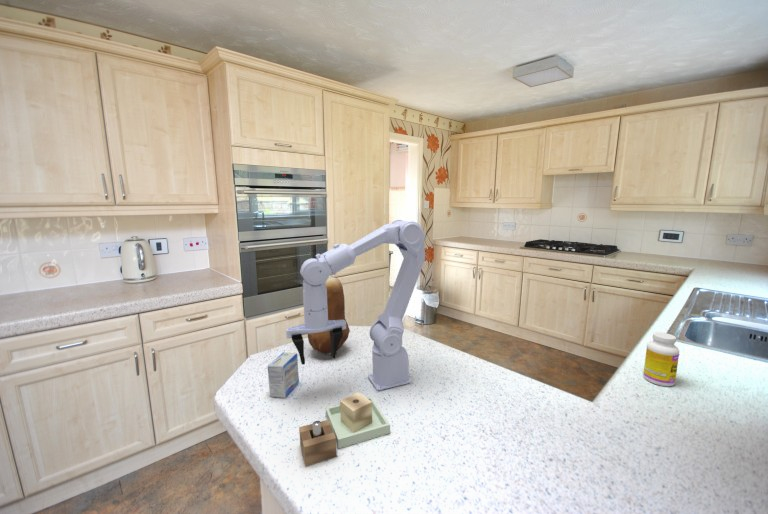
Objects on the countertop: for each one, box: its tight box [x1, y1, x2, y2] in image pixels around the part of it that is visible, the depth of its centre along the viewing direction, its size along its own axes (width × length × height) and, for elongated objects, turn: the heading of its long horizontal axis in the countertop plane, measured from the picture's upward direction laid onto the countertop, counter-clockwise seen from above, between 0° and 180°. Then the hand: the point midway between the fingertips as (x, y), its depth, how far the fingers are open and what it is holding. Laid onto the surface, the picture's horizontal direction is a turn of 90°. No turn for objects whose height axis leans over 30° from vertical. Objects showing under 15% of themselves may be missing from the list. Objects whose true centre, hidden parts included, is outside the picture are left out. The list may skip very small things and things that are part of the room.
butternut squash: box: [307, 276, 351, 355], centre depth 107 cm, size 14×13×25 cm
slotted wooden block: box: [298, 419, 338, 467], centre depth 65 cm, size 6×6×4 cm
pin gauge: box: [311, 420, 321, 438], centre depth 65 cm, size 2×2×6 cm
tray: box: [325, 396, 391, 449], centre depth 73 cm, size 11×11×2 cm
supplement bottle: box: [642, 331, 680, 387], centre depth 88 cm, size 7×7×13 cm
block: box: [339, 391, 372, 433], centre depth 73 cm, size 5×5×5 cm
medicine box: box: [267, 351, 300, 399], centre depth 87 cm, size 8×4×9 cm, turn 168°
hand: (318, 359), depth 83 cm, fingers open, 7 cm apart
